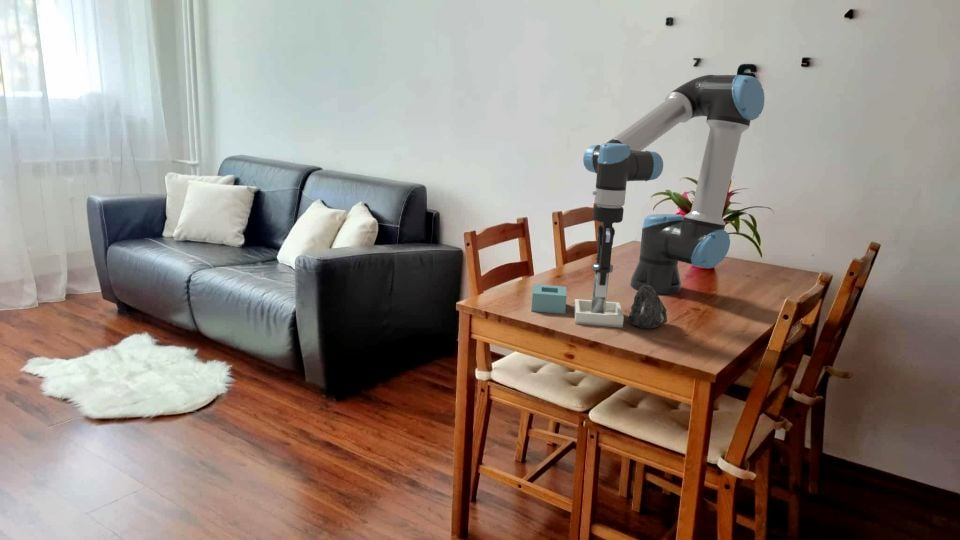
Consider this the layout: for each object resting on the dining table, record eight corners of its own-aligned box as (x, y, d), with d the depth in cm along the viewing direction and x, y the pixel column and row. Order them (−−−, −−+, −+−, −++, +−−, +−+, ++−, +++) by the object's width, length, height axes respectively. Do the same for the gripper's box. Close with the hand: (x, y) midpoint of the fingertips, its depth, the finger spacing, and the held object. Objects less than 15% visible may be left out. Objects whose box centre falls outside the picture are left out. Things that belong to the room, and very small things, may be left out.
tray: (618, 313, 184) (619, 302, 183) (622, 327, 172) (623, 316, 171) (573, 309, 185) (574, 298, 184) (575, 323, 173) (576, 312, 172)
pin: (606, 311, 180) (612, 263, 177) (608, 318, 175) (613, 268, 172) (587, 310, 181) (592, 261, 177) (588, 316, 176) (593, 266, 172)
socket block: (564, 303, 189) (566, 286, 188) (565, 313, 180) (566, 295, 179) (532, 301, 190) (533, 284, 189) (531, 311, 181) (532, 293, 180)
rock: (622, 305, 181) (639, 277, 176) (654, 316, 183) (672, 288, 177) (628, 335, 171) (647, 307, 166) (662, 346, 173) (681, 318, 167)
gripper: (592, 199, 180) (584, 282, 186) (596, 210, 162) (587, 302, 168) (620, 200, 179) (611, 284, 185) (627, 212, 161) (617, 304, 167)
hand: (600, 293), depth 176 cm, fingers closed on pin, 5 cm apart
